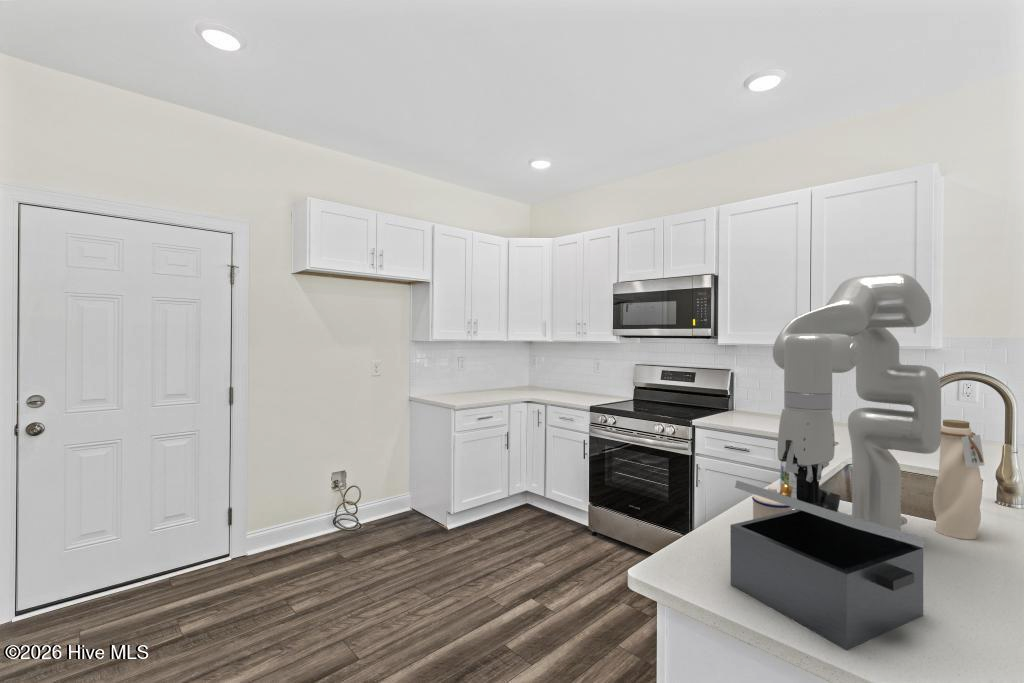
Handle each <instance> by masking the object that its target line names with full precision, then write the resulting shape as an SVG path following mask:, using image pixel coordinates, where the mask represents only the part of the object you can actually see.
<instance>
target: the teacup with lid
mask: <svg viewBox="0 0 1024 683" xmlns="http://www.w3.org/2000/svg"><path fill="white" fill-rule="evenodd" d="M767 489H768V490H771V491H774V492H778V493H780V491H778V489H777V488H776V487H774V486H769V487H768V488H767ZM751 499H752V504H753V505H752V510H753V511H752V512H753V513H752V520H753V519H757V518H761V517H765V516H770V515H774V514H778V513H782V512H786V511H791V510H792V507H791V506H788V505H785V504H782V503H779V502H776V501H773V500H770V499H767V498H764V497H761V496H758V495H755V494H752V497H751Z"/></svg>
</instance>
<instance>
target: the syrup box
mask: <svg viewBox="0 0 1024 683" xmlns="http://www.w3.org/2000/svg"><path fill="white" fill-rule="evenodd" d="M785 467H786V462H782V461H780V480H779V483H780V484H779V490H780V489H781V485H782V484H785V485H788V486H792V487H793V490H792V494H791V497H795V498H797V479H796V478H795V477H794V473H792V472H789V471H786V470H785ZM792 509H796V508H793V507H792Z"/></svg>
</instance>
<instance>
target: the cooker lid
mask: <svg viewBox="0 0 1024 683" xmlns="http://www.w3.org/2000/svg"><path fill="white" fill-rule="evenodd" d="M734 488H735V489H738V490H740V491H745V492H747V493H750V494H752V495H754V494H755V495H758V496H761V497H764V498H767V499H770V500H773V501H776V502H779V503H782V504H785V505H788V506H791V507H793V508H796V509H799V510H802V511H805V512H808V513H811V514H814V515H817V516H820V517H823V518H826V519H829V520H832V521H835V522H838V523H841V524H844V525H846V526H849V527H853V528H856V529H860V530H863V531H867V532H870V533H874V534H878V535H881V536H885V537H888V538H892V539H895V540H899V541H903V542H906V543H910V544H913V545H916V546H919V547H922V548H924V547H925V541H926V538H923V537H921V536H917V535H913V534H911V533H908V532H906V531H905V532H904V531H902V530H901V531H899V530H896V529H892V528H889V527H886V526H883V525H880V524H877V523H874V522H870V521H867V520H864V519H861V518H858V517H855V516H852V514H851V515H850V514H848V513H845V512H841V511H839V506H840V501H841V495H840V494H836V493H834V492H830V491H827V490H823V489H820V488H819V502H818V503H814V504H810V503H807V502H804V501H801V500H798V499H797V498H795V497H791V494H792V490H793V487H792V486H788V485H785V484H782V485H781V489H780V488H779V491H777V492H774V491H771V490H768V488H764V487H761V486H757V485H754V484H750V483H747V482H744V481H740V480H738V479H737V480H736V482H735V486H734ZM778 492H780V493H778Z"/></svg>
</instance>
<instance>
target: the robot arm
mask: <svg viewBox="0 0 1024 683" xmlns="http://www.w3.org/2000/svg"><path fill="white" fill-rule="evenodd" d="M931 312H932V305H931V299H930V297H929V294H928V293H927V292H926V291H925V290H924V288H923V286H922V285H921V284H920V283H919V282H918V280H916V279H915V278H914V277H913V276H910V275H908V274H906V273H888V274H887V273H886V274H875V275H863V276H855V277H852V278H848V279H847V280H845V281H843V282H841V283H840V284H839V285H838V287H837V288H836V290H835V292H833V294H832V296H831V297H830V299H829V300H828V302H827V303H826V304H825V305H824V306H821V307H818V308H815V309H814V310H812V311H809V312H806V313H804V314H802V315H800V316H797V317H795V318H794V319H792V320H790V321H789V322H787V323H786V325H785V326H784V327H783V328H782V329H781V331H780V332H779V333H778V336H777V337H776V339H775V341H774V344H773V347H772V358H773V362H774V363H775V364H776V365H777V367H779V368H780V369H782V370H783V371H784V374H783V376H784V377H783V378H784V379H783V382H784V383H783V384H784V385H783V387H784V388H783V390H784V391H783V392H784V394H783V396H784V397H783V399H784V403H783V405H784V407H783V409H781V415H780V418H779V419H780V420H779V427H778V433H777V434H778V435H777V436H778V437H777V438H778V439H777V460H779V461H780V462H781V461H782V462H786V467H785V470H786V471H789V472H792V473H794V477H795V478H796V479H797V499H798V500H801V501H804V502H807V503H810V504H814V503H818V502H819V489H820V481H821V479H822V471H823V470H824V469H825V468H827V467H828V466H829V465H830V462H831V461H833V460H834V458H835V451H836V450H835V445H836V444H835V443H836V442H835V427H834V426H835V425H834V418H833V374H843V373H846V372H847V373H848V372H850V371H851V370H852V369H854V368H855V390H856V394H857V396H858V397H859V398H860V399H861V400H863V401H866V402H870V403H871V402H872V403H878V404H879V403H880V404H889V405H891V404H892V405H903V406H910V407H912V408H913V409H914V411H911V410H902V409H901V410H900V409H893V408H882V407H881V408H880V407H859V408H856V409H854V410H852V411H851V412H850V413H849V415H848V419H847V429H848V430H847V431H848V435H849V438H850V439H849V440H850V444H851V445H850V446H851V464H852V465H851V467H852V469H851V474H852V475H851V479H852V480H851V488H852V489H851V495H852V497H851V505H852V507H851V509H852V511H851V515H852V516H855V517H858V518H861V519H864V520H867V521H870V522H874V523H877V524H880V525H883V526H886V527H889V528H892V529H896V530H899V531H902V530H901V527H902V526H904V525H907V523H908V519H907V518H906V517H905V516H901V514H902V510H901V509H902V506H901V505H902V499H901V498H902V496H901V495H902V470H901V467H900V463H899V462H898V460H897V459H896V458H895V456H894V455H893V454H892V453H891V451H893V450H895V451H900V452H901V451H902V452H907V453H908V452H909V453H915V454H916V453H917V454H923V455H929V454H931V455H932V454H934V453H936V452H937V451H938V450H939V449H940V442H941V425H942V385H941V379H940V376H939V374H938V372H937V371H936V370H935V369H934V368H932V367H930V366H927V365H923V364H921V365H918V364H901V362H900V343H899V341H898V339H897V338H896V337H895V336H894V335H893V333H892V332H890V330H888V329H887V328H891V329H893V328H895V329H896V328H897V329H898V328H917V327H921V326H923V325H925V324H926V323H927V322H928V321H929V319H930V317H931ZM890 450H891V451H890Z"/></svg>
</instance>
